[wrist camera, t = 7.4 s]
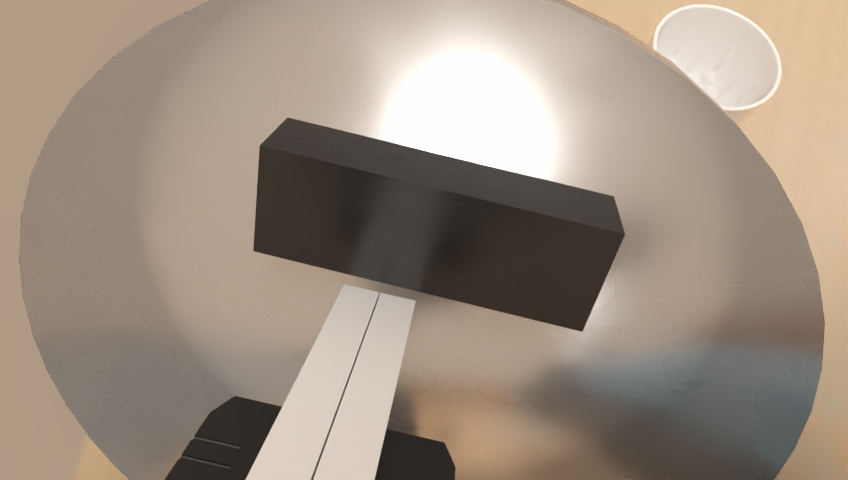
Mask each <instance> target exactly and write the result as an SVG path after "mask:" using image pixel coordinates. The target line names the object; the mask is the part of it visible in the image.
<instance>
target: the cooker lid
mask: <svg viewBox="0 0 848 480" xmlns="http://www.w3.org/2000/svg"><path fill="white" fill-rule="evenodd" d="M20 228H21V229H20V247H19V264H20V274H21V283H22V292H23V299H24V303H25V307H26V311H27V315H28V318H29V322H30V326H31V330H32V334H33V337H34V340H35V342H36V345H37V347H38V349H39V351H40V354H41V357H42V359H43V362H44V364H45V366H46V369H47V371H48V373H49V375H50V377H51V378H52V380H53V382H54V384H55V386H56V387H57V389H58V391H59V393H60V395H61V396H62V398H63V400H64V401H65V404H66V405H67V407H68V408H69V410H70V411H71V412H72V414H73V415H74V417H75V418H76V419H77V421H78V422H79V424H80V425H81V426H82V428H83V429H84V430H85V432H86V433H87V435H88V436H89V437H90V439H91V440H92V441H93V442H94V443H95V444H96V445H97V446H98V448H99V449H100V450H101V451H102V452H103V453H104V454H105V455H106V457H107V458H108V459H109V460H110V461H111V462H112V463H113V464H114V466H115V467H116V468H118V469H119V470H120V471H121V472H122V473H123V474H124V475H125V476H126V477H127V478H128V479H129V480H164V479H165V478H166V476H167V475H168V473H169V472H170V471H171V469H172V468H173V466H174V465H175V463H176V462H177V460H178V459H180V458H181V456H182V453H183V451H184V450H185V448H186V447H187V445H188V444H189V442H190V441H191V440H192V439H194V436H195V434H196V432H197V431H198V429H199V428H200V426H201V425H202V423H203V422H204V420H205V419H206V417H207V416H208V414H209V413H210V412H211V411H213V410H214V409H216V408H217V407H219V406H220V405H222V404H223V403H225V402H226V401H228V400H229V399H231V398H233V397H234V396H238V397H242V398H247V399H251V400H255V401H260V402H264V403H268V404H273V405H277V406H281V407H282V406H283V404H284V402H285V400H286V399H287V397H288V395H289V393H290V391H291V389H292V387H293V385H294V383H295V381H296V379H297V377H298V375H299V373H300V371H301V369H302V367H303V365H304V363H305V361H306V359H307V357H308V355H309V353H310V351H311V349H312V347H313V345H314V343H315V341H316V339H317V337H318V335H319V333H320V331H321V329H322V327H323V325H324V323H325V321H326V319H327V317H328V315H329V313H330V311H331V309H332V307H333V305H334V304H335V302H336V300H337V298H338V296H339V294H340V292H341V290H342V288H343V286H344V284H345V285H350V286H354V287H358V288H363V289H367V290H372V291H376V292H379V296H380V293H385V294H389V295H393V296H398V297H402V298H406V299H411V300H415V301H416V302H415V306H414V311H413V315H412V320H411V324H410V328H409V333H408V337H407V341H406V346H405V350H404V354H403V359H402V363H401V368H400V372H399V376H398V381H397V385H396V389H395V394H394V398H393V402H392V407H391V411H390V415H389V420H388V424H387V429H389V430H393V431H398V432H402V433H406V434H410V435H415V436H419V437H423V438H428V439H432V440H436V441H440V442H445V444H446V447H447V449H448V451H449V454H450V456H451V458H452V460H453V463H454V465H455V467H456V468H455V480H774V479H775V477H776V476H777V474H778V473H779V471H780V470H781V468H782V467H783V465H784V464H785V462H786V461H787V459H788V458H789V456H790V455H791V453H792V452H793V450H794V449H795V446H796V444H797V442H798V440H799V437H800V435H801V433H802V431H803V429H804V426H805V424H806V422H807V420H808V417H809V415H810V413H811V410H812V406H813V402H814V398H815V394H816V390H817V386H818V382H819V378H820V374H821V370H822V359H823V342H824V325H825V322H824V314H823V306H822V298H821V291H820V283H819V275H818V271H817V268H816V265H815V262H814V259H813V256H812V253H811V250H810V247H809V244H808V241H807V238H806V235H805V232H804V228H803V225H802V223H801V221H800V219H799V217H798V215H797V214H796V212H795V210H794V208H793V206H792V204H791V202H790V201H789V199H788V197H787V195H786V193H785V191H784V189H783V188H782V186H781V184H780V182H779V180H778V178H777V176H776V175H775V173H774V172H773V170H772V169H771V168H770V166H769V165H768V164H767V163H766V161H765V160H764V159H763V158H762V156H761V155H760V154H759V152H758V151H757V150H756V149H755V147H754V146H753V145H752V143H751V142H750V141H749V140H748V138H747V137H746V136H745V135H744V133H743V132H742V131H741V129H740V128H739V127H738V126H737V124H736V123H735V122H734V121H733V120H732V119H731V118H730V117H729V115H728V114H727V113H726V112H725V111H724V110H723V109H722V108H721V107H720V105H719V104H718V103H716V102H715V101H714V100H713V99H712V98H711V97H710V96H709V95H708V94H707V93H706V92H705V91H704V90H702V89H701V88H700V87H699V86H698V85H697V84H696V83H695V82H694V81H693V80H692V79H691V78H689V77H688V76H687V75H686V74H685V73H684V72H683V71H682V70H681V69H680V68H679V67H678V66H676V65H675V64H674V63H673V62H672V61H670V60H669V59H667V58H666V57H664V56H663V55H661V54H660V53H658V52H657V51H655V50H654V49H652V48H651V47H649V46H648V45H646V44H645V43H643V42H642V41H641V40H639V39H638V38H636V37H635V36H633V35H632V34H630V33H629V32H627V31H626V30H624V29H623V28H621V27H620V26H618V25H616V24H614V23H612V22H609V21H607V20H605V19H603V18H601V17H599V16H597V15H595V14H593V13H591V12H589V11H586V10H584V9H582V8H580V7H578V6H576V5H574V4H572V3H570V2H568V1H566V0H210V1H208V2H206V3H204V4H201V5H199V6H197V7H195V8H193V9H191V10H189V11H187V12H184V13H182V14H180V15H178V16H176V17H174V18H172V19H170V20H168V21H165V22H163V23H161V24H159V25H157V26H156V27H154V28H153V29H152V30H150V31H149V32H147V33H146V34H145V35H143V36H142V37H140V38H139V39H137V40H136V41H135V42H133V43H132V44H130V45H129V46H128V47H126V48H124V49H123V50H122V51H120V52H119V53H117V54H116V55H115V56H113V57H112V58H111V59H110V60H109V61H108V62H107V63H106V64H105V65H104V66H103V67H102V68H101V69H100V70H99V71H98V72H97V73H96V74H95V75H94V76H93V77H92V78H91V79H90V80H89V81H88V82H87V83H86V84H85V85H84V86H83V87H82V88H81V89H80V90H79V91H78V92H77V93H76V94H75V96H74V97H73V99H72V100H71V102H70V103H69V105H68V106H67V108H66V109H65V111H64V112H63V114H62V115H61V116H60V118H59V119H58V121H57V122H56V124H55V125H54V127H53V128H52V130H51V131H50V133H49V135H48V137H47V139H46V141H45V144H44V146H43V148H42V150H41V153H40V155H39V157H38V160H37V162H36V164H35V167H34V169H33V171H32V173H31V177H30V181H29V185H28V190H27V194H26V198H25V202H24V206H23V211H22V215H21V227H20ZM378 299H379V297H378Z"/></svg>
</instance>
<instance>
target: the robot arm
mask: <svg viewBox="0 0 848 480" xmlns="http://www.w3.org/2000/svg"><path fill="white" fill-rule="evenodd" d="M378 297H379V299H378ZM415 302H416V301H415V300H411V299H406V298H402V297H398V296H393V295H389V294H385V293H380V296H379V292H376V291H372V290H367V289H363V288H358V287H354V286H350V285H345V284H344V286H343V288H342V290H341V292H340V294H339V296H338V298H337V300H336V302H335V304H334V305H333V307H332V309H331V311H330V313H329V315H328V317H327V319H326V321H325V323H324V325H323V327H322V329H321V331H320V333H319V335H318V337H317V339H316V341H315V343H314V345H313V347H312V349H311V351H310V353H309V355H308V357H307V359H306V361H305V363H304V365H303V367H302V369H301V371H300V373H299V375H298V377H297V379H296V381H295V383H294V385H293V387H292V389H291V391H290V393H289V395H288V397H287V399H286V400H285V402H284V404H283V406H282V407H281V406H277V405H273V404H268V403H264V402H260V401H255V400H251V399H247V398H242V397H238V396H234V397H233V398H231V399H229V400H228V401H226V402H225V403H223V404H222V405H220V406H219V407H217V408H216V409H214V410H213V411H211V412H210V413H209V414H208V416H207V417H206V419H205V420H204V422H203V423H202V425H201V426H200V428H199V429H198V431H197V432H196V434H195V436H194V439H192V440H191V441H190V442H189V444H188V445H187V447H186V448H185V450H184V451H183V453H182V456H181V458H180V459H178V460H177V462H176V463H175V465H174V466H173V468H172V469H171V471H170V472H169V473H168V475H167V476H166V478H165V479H164V480H455V468H456V467H455V465H454V463H453V460H452V458H451V456H450V454H449V451H448V449H447V447H446V444H445V442H440V441H436V440H432V439H428V438H423V437H419V436H415V435H410V434H406V433H402V432H398V431H393V430H389V429H387V424H388V420H389V415H390V411H391V407H392V402H393V398H394V394H395V389H396V385H397V381H398V376H399V372H400V368H401V363H402V359H403V354H404V350H405V346H406V341H407V337H408V333H409V328H410V324H411V320H412V315H413V311H414V306H415Z"/></svg>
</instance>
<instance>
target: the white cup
mask: <svg viewBox="0 0 848 480" xmlns="http://www.w3.org/2000/svg"><path fill="white" fill-rule="evenodd" d="M647 45H648V46H649V47H651V48H652V49H654V50H655V51H657V52H658V53H660V54H661V55H663V56H664V57H666V58H667V59H669V60H670V61H672V62H673V63H674V64H675V65H676V66H678V67H679V68H680V69H681V70H682V71H683V72H684V73H685V74H686V75H687V76H688V77H689V78H691V79H692V80H693V81H694V82H695V83H696V84H697V85H698V86H699V87H700V88H701V89H702V90H704V91H705V92H706V93H707V94H708V95H709V96H710V97H711V98H712V99H713V100H714V101H715V102H716V103H718V104H719V105H720V107H721V108H722V109H723V110H724V111H725V112H726V113H727V114H728V115H729V117H730V118H731V119H732V120H733V121H734V122H735V123H736V124H737V126H739V125H740V124H742V123H743V122H744V121H745V120H746V119H747V118H748V117H749V116H750V115H752V114H753V113H754V112H755V111H756V110H757V109H758V108H759V107H761V106H762V105H763V104H764V103H765V102H766V101H767V100H768V99H770V98H771V97H772V96H773V94H774V93H775V92H776V90H777V88H778V86H779V84H780V81H781V75H782V66H781V60H780V57H779V54H778V51H777V49H776V47H775V45H774V44H773V42H772V41H771V39H770V38H769V37H768V35H767V34H766V33H765V32H764V31H763V30H762V29H761V28H760V27H759V26H758V25H756V24H755V23H754V22H752V21H751V20H750V19H748V18H746V17H745V16H743V15H741V14H739V13H737V12H735V11H733V10H730V9H727V8H724V7H720V6H715V5H708V4H695V5H688V6H684V7H681V8H678V9H676V10H674V11H672V12H670V13H669V14H667V15H666V16H665V17H664V18H663V19H662V20H661V21H660V23H659V24H658V26H657V28H656V30H655V31H654V33H653V35H652V37H651V39H650V41H649V43H648V44H647Z"/></svg>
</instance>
